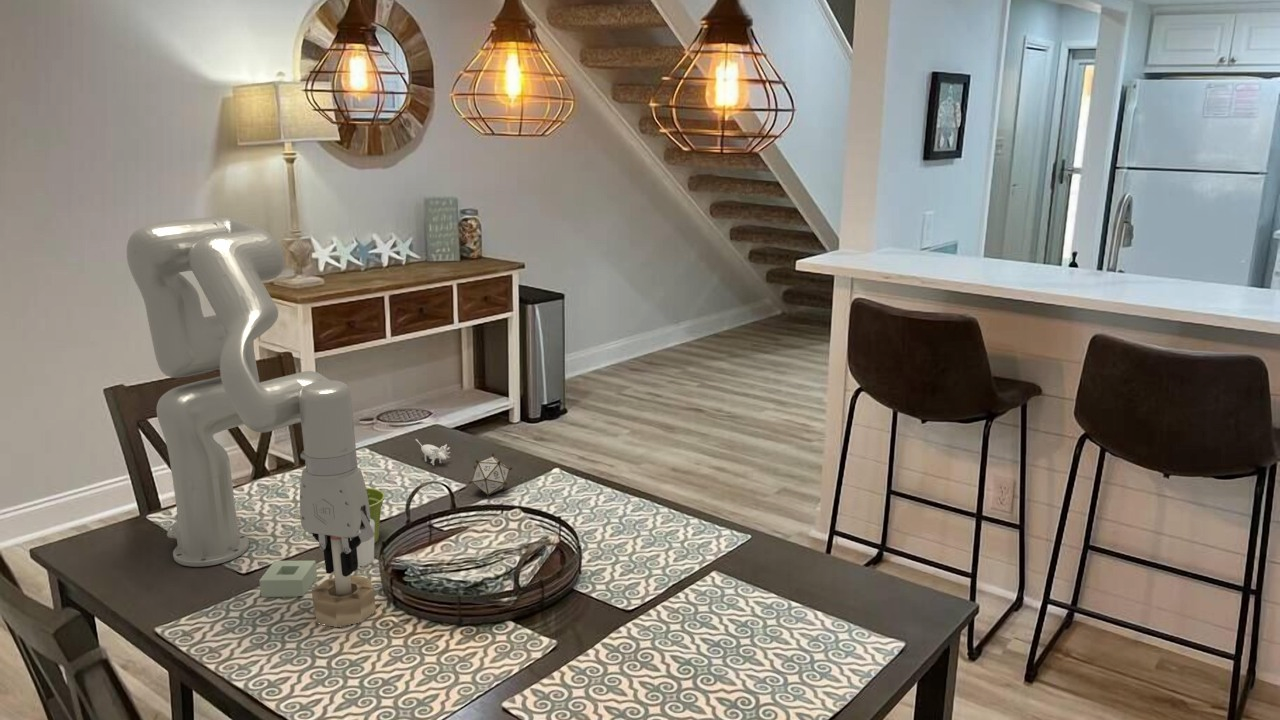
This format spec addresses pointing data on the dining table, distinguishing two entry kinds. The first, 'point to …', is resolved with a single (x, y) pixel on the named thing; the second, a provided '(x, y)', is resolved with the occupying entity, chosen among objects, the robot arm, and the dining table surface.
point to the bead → (343, 602)
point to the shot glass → (366, 549)
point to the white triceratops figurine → (434, 452)
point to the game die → (490, 475)
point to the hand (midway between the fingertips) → (342, 570)
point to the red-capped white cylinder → (339, 569)
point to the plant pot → (375, 508)
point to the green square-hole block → (288, 578)
